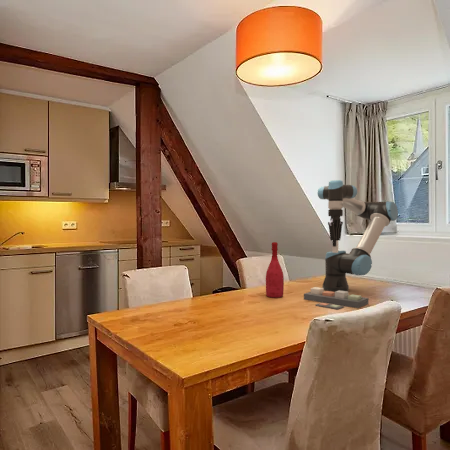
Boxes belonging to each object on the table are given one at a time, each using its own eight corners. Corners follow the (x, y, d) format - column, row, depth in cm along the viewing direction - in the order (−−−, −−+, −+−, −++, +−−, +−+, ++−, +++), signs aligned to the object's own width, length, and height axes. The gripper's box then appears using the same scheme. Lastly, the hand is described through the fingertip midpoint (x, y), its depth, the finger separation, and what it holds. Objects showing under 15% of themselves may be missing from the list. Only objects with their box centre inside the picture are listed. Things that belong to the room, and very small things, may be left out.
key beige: (334, 298, 201) (334, 291, 201) (339, 296, 204) (339, 290, 204) (343, 299, 197) (343, 293, 197) (348, 297, 201) (348, 291, 201)
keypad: (303, 299, 209) (303, 293, 209) (315, 295, 218) (315, 290, 218) (358, 308, 189) (358, 302, 189) (368, 303, 198) (368, 298, 197)
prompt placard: (315, 305, 194) (315, 304, 194) (321, 303, 199) (321, 301, 199) (337, 309, 186) (337, 307, 186) (343, 307, 191) (343, 305, 191)
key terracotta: (322, 298, 205) (322, 292, 205) (326, 296, 209) (327, 290, 209) (331, 299, 202) (331, 293, 202) (335, 298, 206) (335, 292, 206)
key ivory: (310, 294, 210) (310, 288, 210) (315, 292, 214) (315, 287, 214) (318, 295, 207) (318, 289, 207) (323, 294, 210) (323, 288, 210)
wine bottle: (283, 294, 221) (283, 241, 220) (284, 298, 211) (284, 242, 211) (265, 294, 222) (265, 241, 221) (265, 298, 212) (265, 242, 212)
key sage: (347, 302, 196) (347, 296, 196) (352, 300, 200) (352, 294, 200) (357, 303, 193) (357, 297, 193) (361, 302, 196) (361, 295, 196)
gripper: (336, 208, 205) (336, 253, 206) (347, 208, 215) (347, 251, 216) (323, 209, 210) (323, 252, 211) (334, 209, 220) (334, 251, 221)
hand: (335, 252), depth 213 cm, fingers closed
